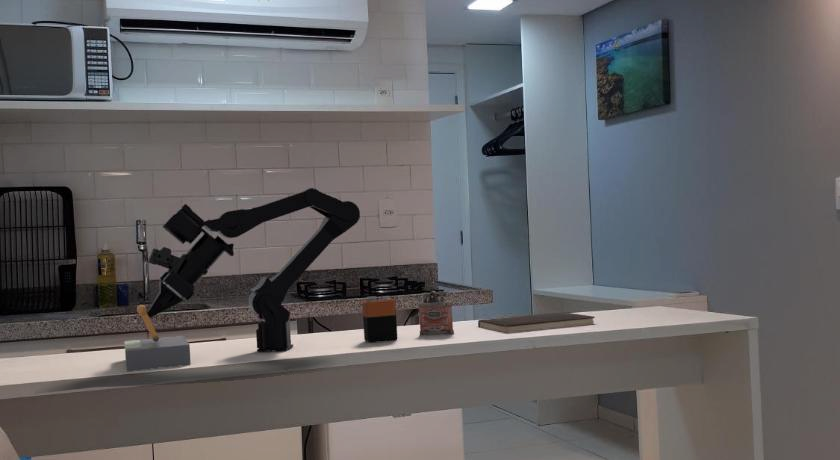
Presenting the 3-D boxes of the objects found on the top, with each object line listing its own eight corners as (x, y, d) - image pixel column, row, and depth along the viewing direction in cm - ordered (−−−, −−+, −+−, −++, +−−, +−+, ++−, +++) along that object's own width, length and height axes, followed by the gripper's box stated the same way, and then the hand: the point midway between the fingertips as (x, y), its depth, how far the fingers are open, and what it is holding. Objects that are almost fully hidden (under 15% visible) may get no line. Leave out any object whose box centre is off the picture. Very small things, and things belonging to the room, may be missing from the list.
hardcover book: (595, 326, 188) (594, 316, 188) (506, 335, 181) (506, 325, 181) (561, 320, 204) (560, 311, 204) (478, 329, 196) (477, 319, 196)
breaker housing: (183, 353, 177) (182, 334, 177) (190, 364, 160) (189, 343, 160) (125, 359, 172) (124, 340, 172) (126, 371, 155) (125, 349, 156)
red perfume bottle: (418, 335, 185) (415, 292, 185) (421, 333, 188) (419, 291, 188) (452, 334, 183) (449, 291, 183) (455, 332, 187) (452, 290, 187)
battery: (363, 341, 181) (361, 296, 181) (392, 338, 183) (390, 294, 183) (368, 343, 177) (366, 298, 177) (398, 340, 179) (395, 295, 179)
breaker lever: (160, 337, 168) (143, 303, 167) (161, 339, 165) (144, 304, 164) (152, 341, 168) (135, 307, 167) (153, 343, 164) (135, 308, 163)
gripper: (167, 234, 176) (116, 289, 172) (172, 232, 159) (117, 293, 155) (206, 267, 179) (157, 321, 175) (216, 269, 162) (162, 329, 158)
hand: (148, 316), depth 166 cm, fingers closed, pressing on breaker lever
